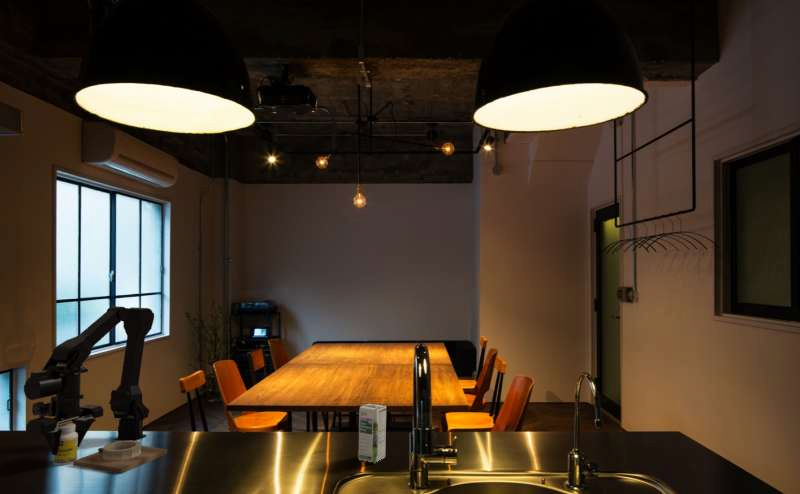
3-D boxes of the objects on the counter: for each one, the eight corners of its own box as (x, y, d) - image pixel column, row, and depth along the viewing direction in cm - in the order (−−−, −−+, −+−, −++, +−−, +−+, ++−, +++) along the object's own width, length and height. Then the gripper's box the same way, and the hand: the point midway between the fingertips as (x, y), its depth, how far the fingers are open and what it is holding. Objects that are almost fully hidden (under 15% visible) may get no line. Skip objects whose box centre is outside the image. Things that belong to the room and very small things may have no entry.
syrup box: (357, 460, 151) (358, 406, 151) (368, 454, 156) (369, 402, 156) (375, 464, 148) (376, 409, 148) (386, 457, 153) (386, 405, 154)
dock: (121, 447, 159) (122, 434, 159) (166, 453, 154) (167, 440, 154) (72, 465, 144) (73, 451, 144) (120, 473, 139) (121, 458, 139)
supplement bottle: (50, 466, 143) (51, 428, 143) (57, 459, 148) (58, 423, 148) (73, 465, 144) (74, 427, 145) (79, 458, 149) (81, 421, 150)
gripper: (76, 382, 158) (74, 437, 158) (11, 396, 141) (9, 458, 140) (105, 385, 155) (103, 441, 154) (43, 400, 137) (41, 464, 136)
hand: (65, 450), depth 146 cm, fingers open, 6 cm apart
